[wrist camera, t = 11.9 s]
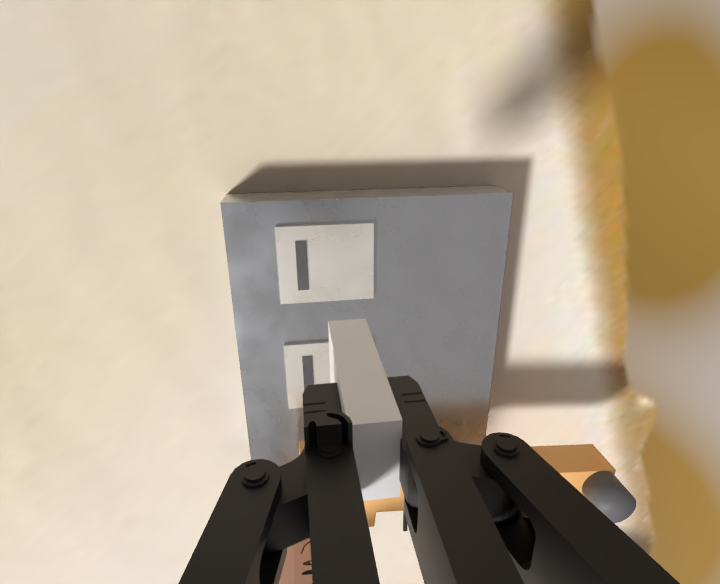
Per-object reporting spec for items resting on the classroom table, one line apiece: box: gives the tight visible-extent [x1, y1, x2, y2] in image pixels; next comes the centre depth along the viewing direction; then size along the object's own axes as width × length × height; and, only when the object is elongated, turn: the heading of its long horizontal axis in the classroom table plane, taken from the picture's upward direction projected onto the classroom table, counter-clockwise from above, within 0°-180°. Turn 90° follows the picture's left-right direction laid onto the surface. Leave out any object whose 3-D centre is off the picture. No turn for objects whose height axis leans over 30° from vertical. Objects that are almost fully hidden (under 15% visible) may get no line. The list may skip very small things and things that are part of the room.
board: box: [221, 185, 513, 467], centre depth 31 cm, size 20×18×8 cm
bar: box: [299, 441, 636, 527], centre depth 33 cm, size 23×5×5 cm, turn 86°
